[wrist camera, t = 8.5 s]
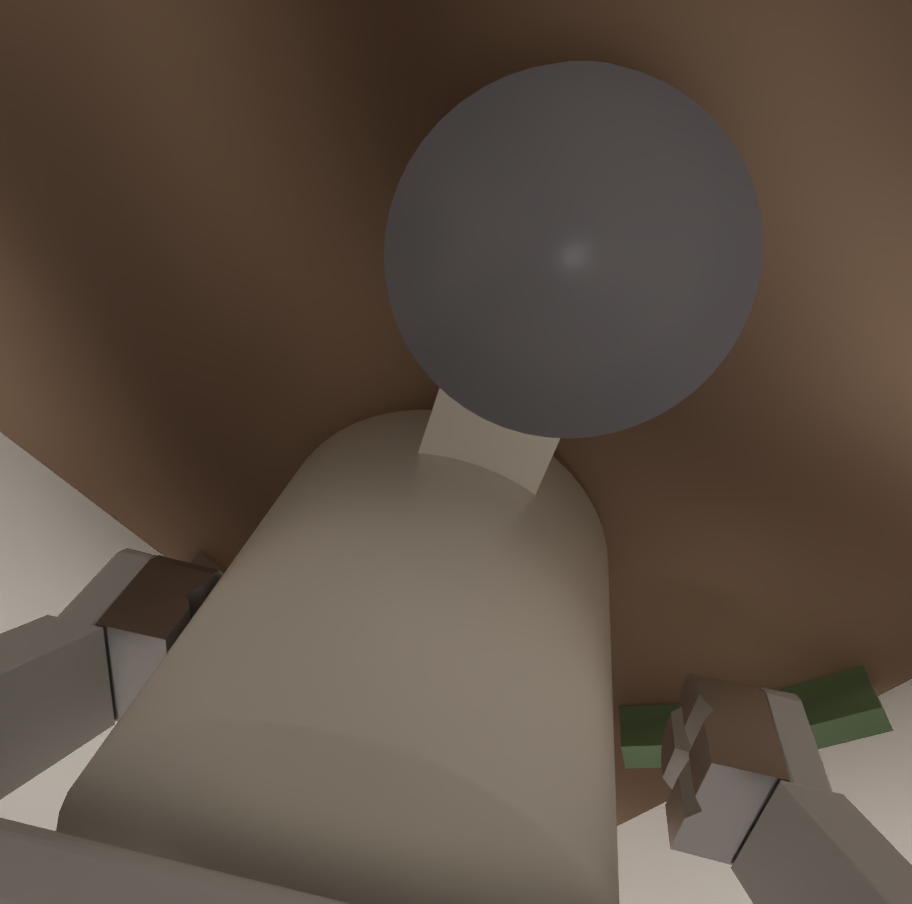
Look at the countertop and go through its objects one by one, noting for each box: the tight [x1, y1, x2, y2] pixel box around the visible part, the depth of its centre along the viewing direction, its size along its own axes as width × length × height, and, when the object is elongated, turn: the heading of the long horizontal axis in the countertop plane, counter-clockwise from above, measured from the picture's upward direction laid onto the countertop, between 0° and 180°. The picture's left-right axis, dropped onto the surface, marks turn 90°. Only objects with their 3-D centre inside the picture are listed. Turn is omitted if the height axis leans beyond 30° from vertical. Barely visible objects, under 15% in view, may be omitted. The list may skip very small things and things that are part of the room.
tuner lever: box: [56, 61, 763, 904], centre depth 9 cm, size 11×6×6 cm, turn 163°
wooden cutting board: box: [0, 0, 912, 826], centre depth 11 cm, size 21×21×2 cm
